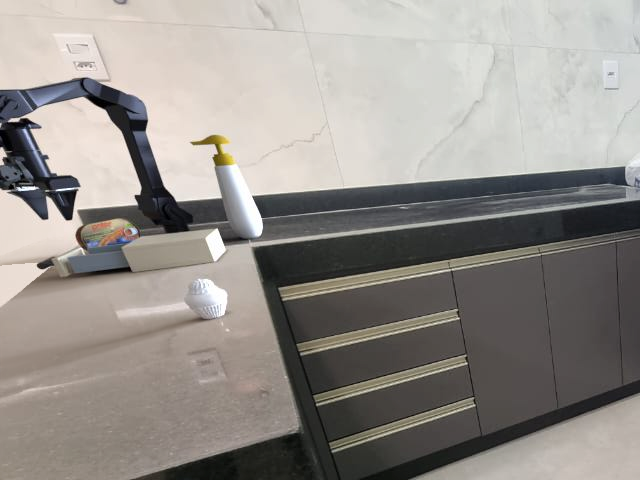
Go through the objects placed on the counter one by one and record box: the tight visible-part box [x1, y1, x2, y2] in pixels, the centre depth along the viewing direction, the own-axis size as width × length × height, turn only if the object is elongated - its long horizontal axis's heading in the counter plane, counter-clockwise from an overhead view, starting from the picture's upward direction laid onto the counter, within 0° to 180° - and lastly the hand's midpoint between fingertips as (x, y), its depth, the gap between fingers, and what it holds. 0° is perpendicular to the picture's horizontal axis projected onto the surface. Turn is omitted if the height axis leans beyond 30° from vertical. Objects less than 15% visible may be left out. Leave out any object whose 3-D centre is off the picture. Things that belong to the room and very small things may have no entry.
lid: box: [107, 238, 136, 245], centre depth 140 cm, size 5×6×6 cm
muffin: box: [183, 278, 228, 320], centre depth 94 cm, size 6×6×7 cm
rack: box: [36, 243, 130, 278], centre depth 130 cm, size 20×13×4 cm
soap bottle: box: [189, 134, 263, 240], centre depth 155 cm, size 13×10×29 cm
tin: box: [74, 217, 142, 252], centre depth 151 cm, size 15×3×8 cm, turn 168°
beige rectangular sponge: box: [121, 228, 226, 273], centre depth 136 cm, size 17×15×6 cm
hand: (57, 220), depth 128 cm, fingers open, 9 cm apart
